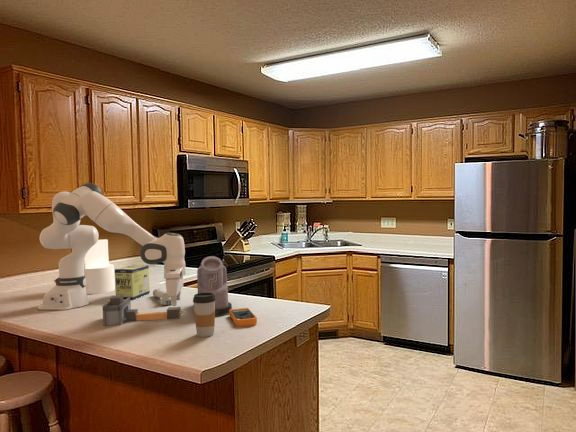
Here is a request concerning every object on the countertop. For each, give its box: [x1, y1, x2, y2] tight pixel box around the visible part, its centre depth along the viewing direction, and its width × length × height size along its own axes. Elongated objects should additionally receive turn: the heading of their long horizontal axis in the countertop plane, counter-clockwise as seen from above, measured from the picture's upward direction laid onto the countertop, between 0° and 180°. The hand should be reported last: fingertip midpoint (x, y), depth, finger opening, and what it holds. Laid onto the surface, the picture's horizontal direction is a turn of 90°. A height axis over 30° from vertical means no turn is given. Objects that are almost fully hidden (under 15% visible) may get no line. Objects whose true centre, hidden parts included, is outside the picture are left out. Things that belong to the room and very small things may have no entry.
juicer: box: [196, 255, 233, 318], centre depth 205 cm, size 30×16×24 cm, turn 12°
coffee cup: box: [192, 292, 216, 338], centre depth 167 cm, size 8×8×15 cm
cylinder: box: [84, 238, 116, 295], centre depth 252 cm, size 17×17×28 cm
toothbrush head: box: [152, 288, 172, 306], centre depth 224 cm, size 5×7×25 cm
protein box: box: [114, 264, 151, 301], centre depth 235 cm, size 10×16×16 cm
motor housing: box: [102, 295, 132, 327], centre depth 190 cm, size 7×15×10 cm, turn 4°
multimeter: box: [228, 307, 258, 328], centre depth 185 cm, size 9×18×3 cm, turn 17°
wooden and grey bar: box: [125, 306, 185, 322], centre depth 191 cm, size 24×4×4 cm, turn 95°
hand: (176, 302), depth 193 cm, fingers open, 8 cm apart
